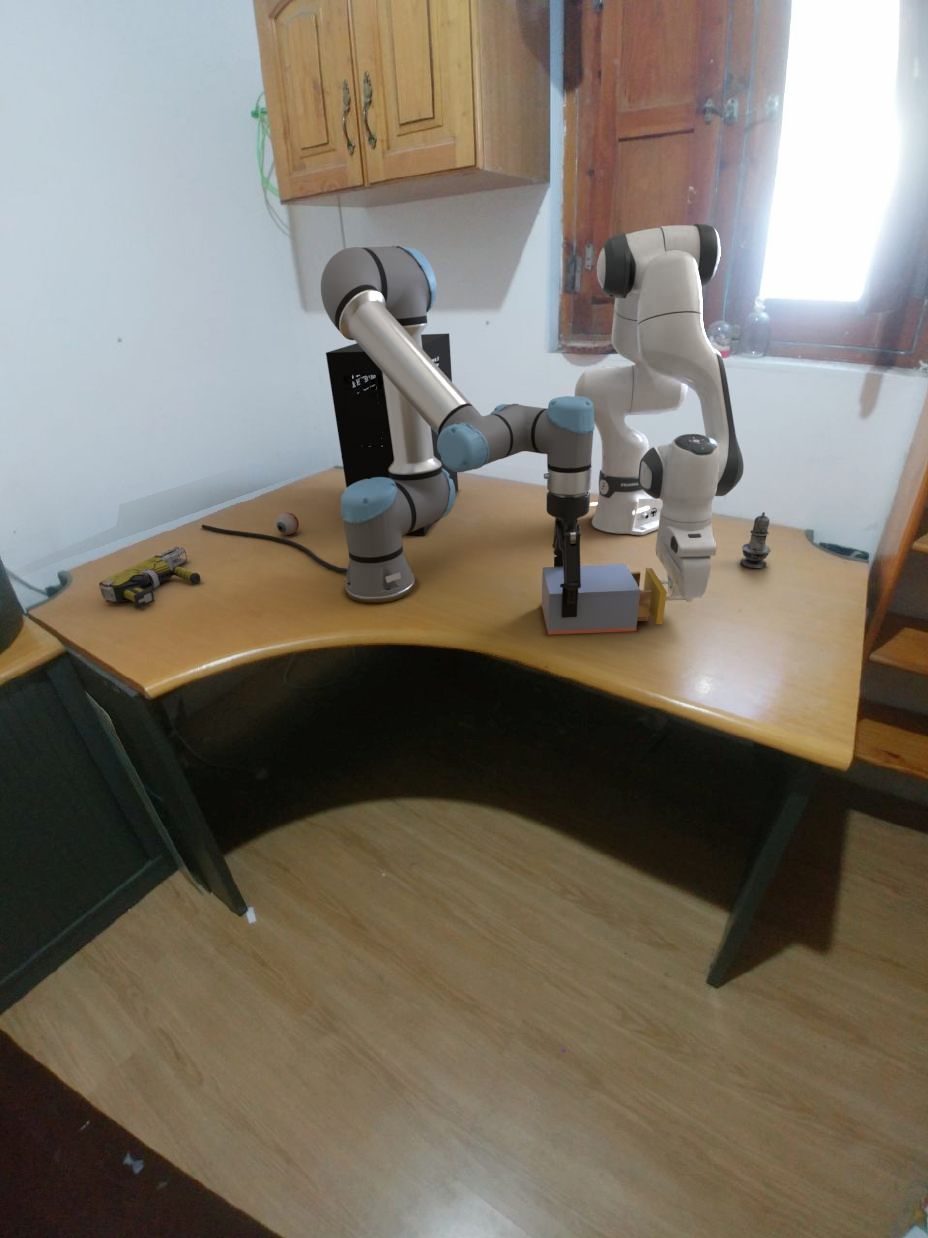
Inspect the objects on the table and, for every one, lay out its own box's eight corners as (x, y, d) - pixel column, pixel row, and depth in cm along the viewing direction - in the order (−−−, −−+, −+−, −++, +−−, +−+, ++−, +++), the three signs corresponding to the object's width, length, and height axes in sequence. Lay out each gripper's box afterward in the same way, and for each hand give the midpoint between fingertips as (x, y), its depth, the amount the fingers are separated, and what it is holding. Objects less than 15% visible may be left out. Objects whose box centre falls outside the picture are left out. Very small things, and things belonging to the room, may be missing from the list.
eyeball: (273, 537, 164) (268, 516, 161) (287, 528, 169) (282, 508, 166) (291, 539, 161) (286, 518, 158) (305, 530, 166) (301, 510, 163)
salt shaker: (770, 569, 132) (782, 517, 126) (741, 568, 133) (751, 516, 127) (764, 558, 137) (775, 507, 131) (736, 557, 138) (746, 507, 132)
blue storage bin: (622, 602, 123) (626, 563, 119) (636, 630, 113) (640, 590, 109) (541, 605, 123) (542, 567, 119) (548, 634, 114) (549, 594, 109)
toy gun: (223, 554, 147) (173, 544, 151) (148, 595, 127) (92, 582, 131) (226, 572, 149) (177, 561, 153) (152, 615, 129) (97, 601, 133)
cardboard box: (424, 535, 159) (408, 350, 137) (353, 532, 164) (325, 352, 141) (458, 489, 191) (449, 333, 168) (397, 488, 195) (380, 335, 173)
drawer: (675, 597, 122) (680, 566, 118) (692, 622, 113) (697, 590, 109) (572, 601, 122) (574, 571, 119) (580, 627, 113) (582, 595, 110)
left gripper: (539, 472, 116) (538, 574, 127) (555, 516, 95) (552, 633, 106) (578, 470, 116) (574, 573, 126) (603, 513, 95) (595, 631, 106)
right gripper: (651, 509, 118) (644, 573, 125) (682, 552, 100) (672, 623, 107) (684, 508, 118) (675, 572, 125) (720, 551, 100) (708, 622, 107)
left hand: (564, 600), depth 116 cm, fingers closed on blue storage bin, 11 cm apart
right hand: (674, 596), depth 116 cm, fingers closed, pressing on drawer
